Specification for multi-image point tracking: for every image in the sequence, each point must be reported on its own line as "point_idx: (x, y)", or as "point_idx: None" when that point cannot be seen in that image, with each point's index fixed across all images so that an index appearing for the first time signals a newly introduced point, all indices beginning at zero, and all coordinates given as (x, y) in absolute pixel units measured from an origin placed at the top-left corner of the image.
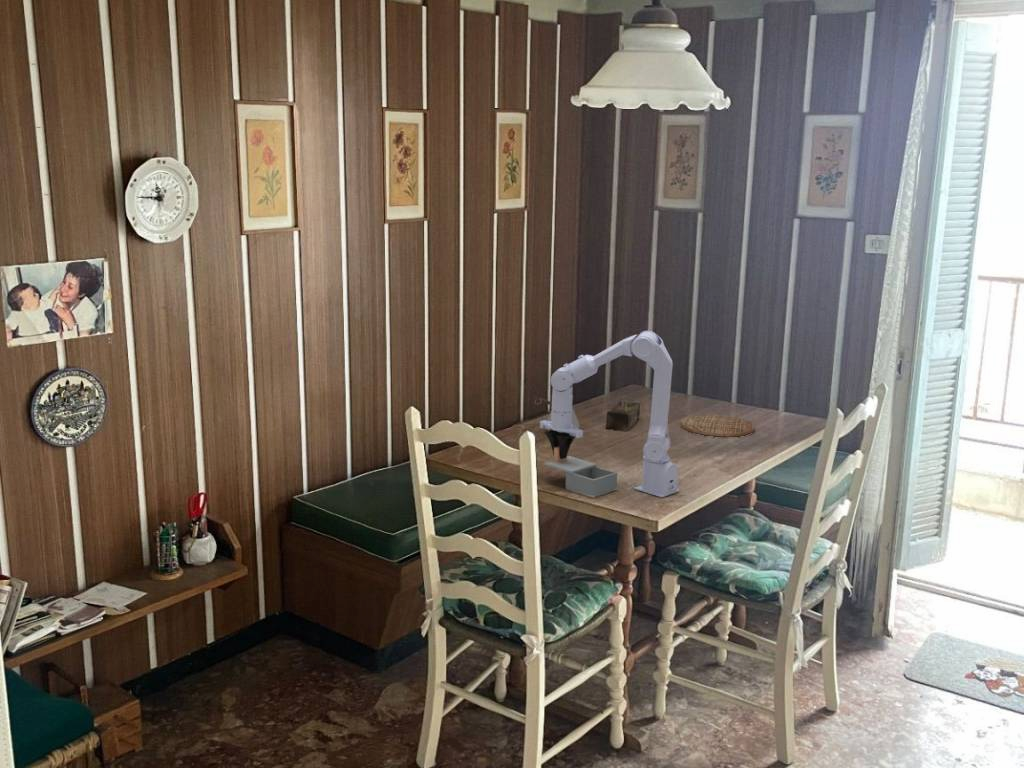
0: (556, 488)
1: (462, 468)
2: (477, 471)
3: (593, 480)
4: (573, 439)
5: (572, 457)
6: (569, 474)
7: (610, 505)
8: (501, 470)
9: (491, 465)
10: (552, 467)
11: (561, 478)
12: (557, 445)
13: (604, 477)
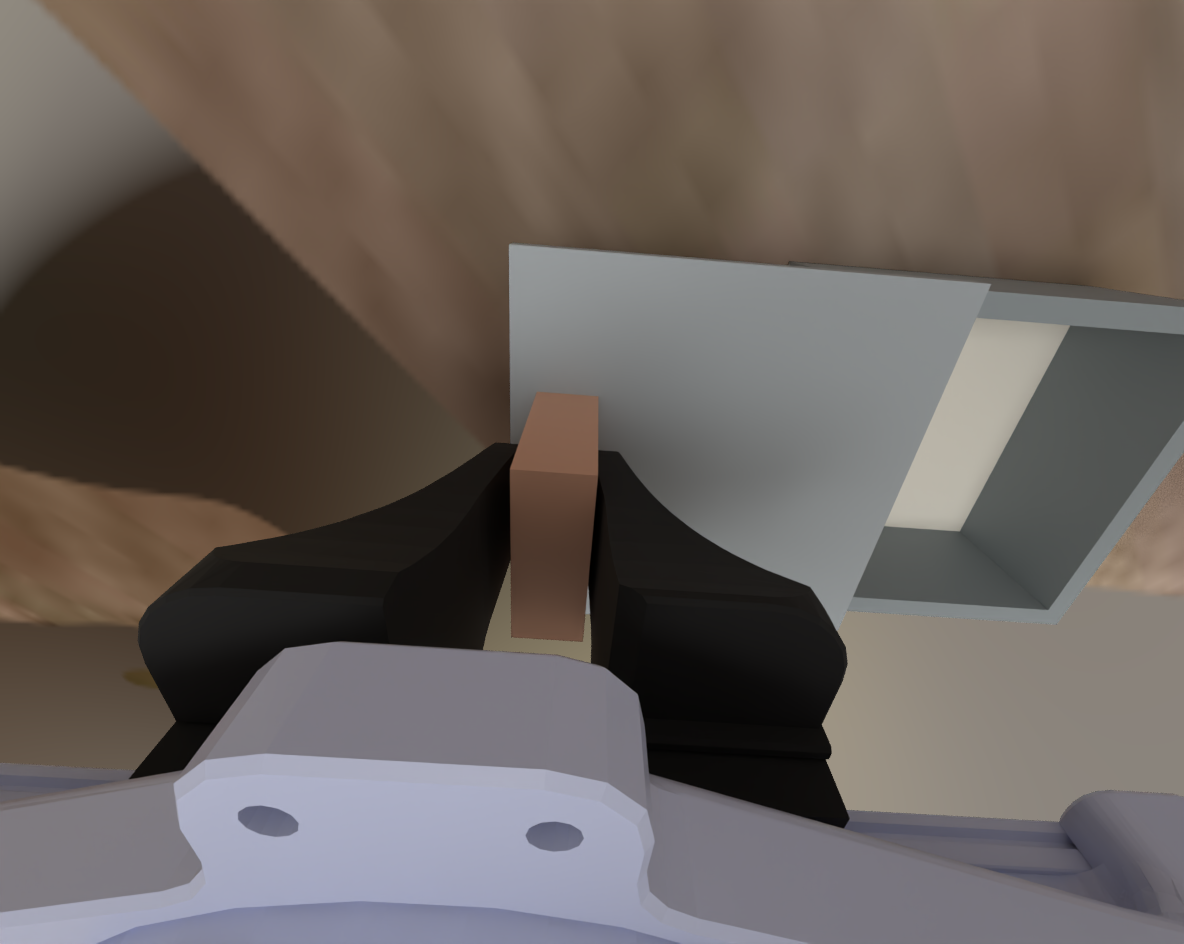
0: None
1: (33, 619)
2: (125, 605)
3: (1050, 621)
4: (757, 570)
5: (591, 273)
6: None
7: None
8: (164, 507)
9: (20, 474)
10: None
11: None
12: (484, 568)
13: (1133, 510)
